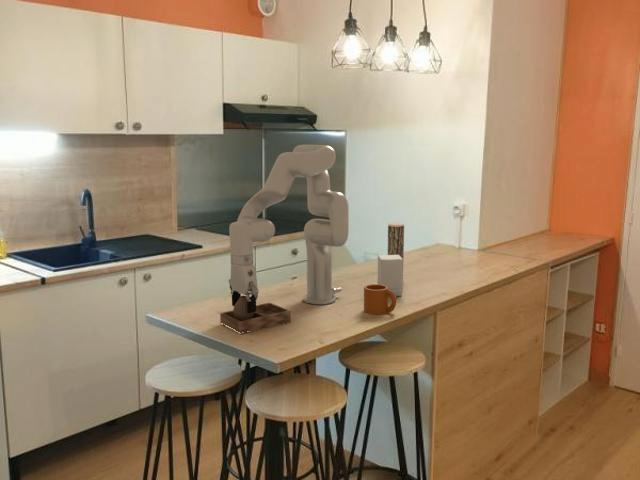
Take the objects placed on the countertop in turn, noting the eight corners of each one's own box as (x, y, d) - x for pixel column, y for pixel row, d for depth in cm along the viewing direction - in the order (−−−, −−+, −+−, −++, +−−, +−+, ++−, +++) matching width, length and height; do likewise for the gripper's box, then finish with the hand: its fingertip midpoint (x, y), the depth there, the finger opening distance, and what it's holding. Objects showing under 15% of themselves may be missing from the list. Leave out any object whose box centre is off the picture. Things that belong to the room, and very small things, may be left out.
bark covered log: (385, 282, 261) (386, 225, 257) (388, 278, 268) (389, 222, 263) (401, 283, 259) (402, 225, 254) (404, 280, 265) (405, 223, 261)
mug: (386, 318, 214) (386, 293, 212) (359, 311, 222) (358, 287, 220) (400, 311, 221) (400, 287, 219) (373, 305, 228) (373, 282, 227)
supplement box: (402, 296, 241) (403, 259, 238) (380, 296, 240) (380, 259, 237) (398, 290, 250) (399, 254, 247) (377, 290, 249) (377, 254, 246)
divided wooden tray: (269, 313, 220) (269, 302, 219) (290, 322, 210) (290, 310, 209) (220, 324, 208) (220, 313, 207) (240, 334, 198) (240, 322, 197)
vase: (230, 320, 207) (230, 295, 206) (250, 317, 210) (249, 292, 209) (237, 326, 201) (236, 300, 200) (257, 323, 204) (256, 297, 203)
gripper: (266, 261, 197) (267, 312, 201) (238, 253, 211) (240, 300, 214) (246, 265, 193) (248, 317, 196) (219, 256, 206) (221, 305, 209)
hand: (244, 308), depth 205 cm, fingers open, 9 cm apart
